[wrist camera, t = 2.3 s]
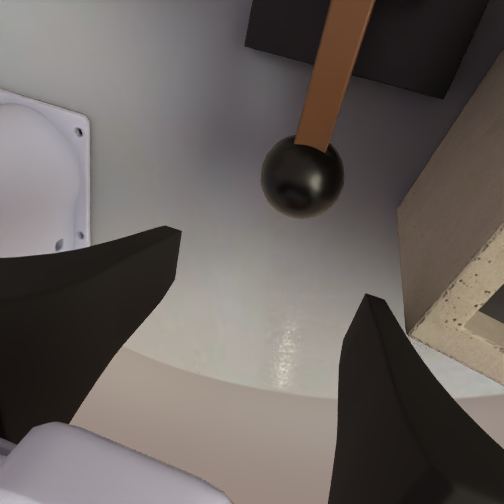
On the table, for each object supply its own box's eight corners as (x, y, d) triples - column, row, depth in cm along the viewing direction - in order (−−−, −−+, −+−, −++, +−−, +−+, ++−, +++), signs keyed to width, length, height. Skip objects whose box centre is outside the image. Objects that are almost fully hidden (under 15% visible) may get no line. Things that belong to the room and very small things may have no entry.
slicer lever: (334, 203, 15) (323, 244, 13) (265, 181, 16) (244, 219, 13) (514, -275, 8) (564, -373, 5) (372, -296, 8) (363, -396, 6)
